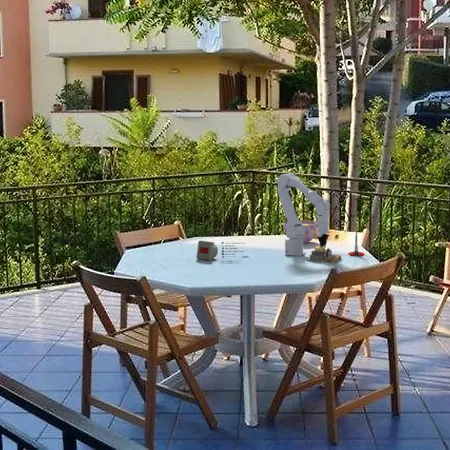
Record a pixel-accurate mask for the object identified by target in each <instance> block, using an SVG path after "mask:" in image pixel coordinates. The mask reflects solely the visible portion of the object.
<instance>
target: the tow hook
mask: <svg viewBox="0 0 450 450" xmlns="http://www.w3.org/2000/svg"><path fill="white" fill-rule="evenodd" d="M354 237H355V238H354V251H349V252H348V253H347V254H348V255H349V256H351V257H363V255H365V252H364V251H359V246H358V231H355V236H354Z"/></svg>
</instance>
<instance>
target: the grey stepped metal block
mask: <svg viewBox="0 0 450 450" xmlns="http://www.w3.org/2000/svg"><path fill="white" fill-rule="evenodd" d="M310 252H311V254H309V258H307V259H306V261H307V262H315V261H319V262H318V263H327V262H326V258H328V257H329V256H331V255H334V254H333V253H332V252H333V251H332V249H331V248H329V247H328V248H327V249H325V251H323V252H322V254H321V251H315V250H312V251H310ZM320 261H321V262H320ZM322 261H323V262H322Z"/></svg>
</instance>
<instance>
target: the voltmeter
mask: <svg viewBox="0 0 450 450" xmlns="http://www.w3.org/2000/svg"><path fill="white" fill-rule="evenodd" d="M221 244H222V245H221V246H222V248H221V255H222V257H221V258H222V259H224V258H225V256H224V255H234V253H244V250H243V251H242V250H241V251H240V250H238V251H237V247H235V245H236V244H244V245H245V244H246V242H225V243H224V242H223V241H221ZM226 244H235V245H226ZM224 245H225V246H224ZM224 247H225V248H224ZM228 247H229V248H228ZM231 247H233V248H232V250H231ZM224 249H225V250H224ZM218 251H219V249H218V247H217V245H216V244H215V241H207V240H198V244H197V252H196V259H198V258H199V260H203V259H205V260H204V261H210V260H213V259H215V258H216V257H217V255H218V253H219V252H218ZM214 257H215V258H214Z"/></svg>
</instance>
